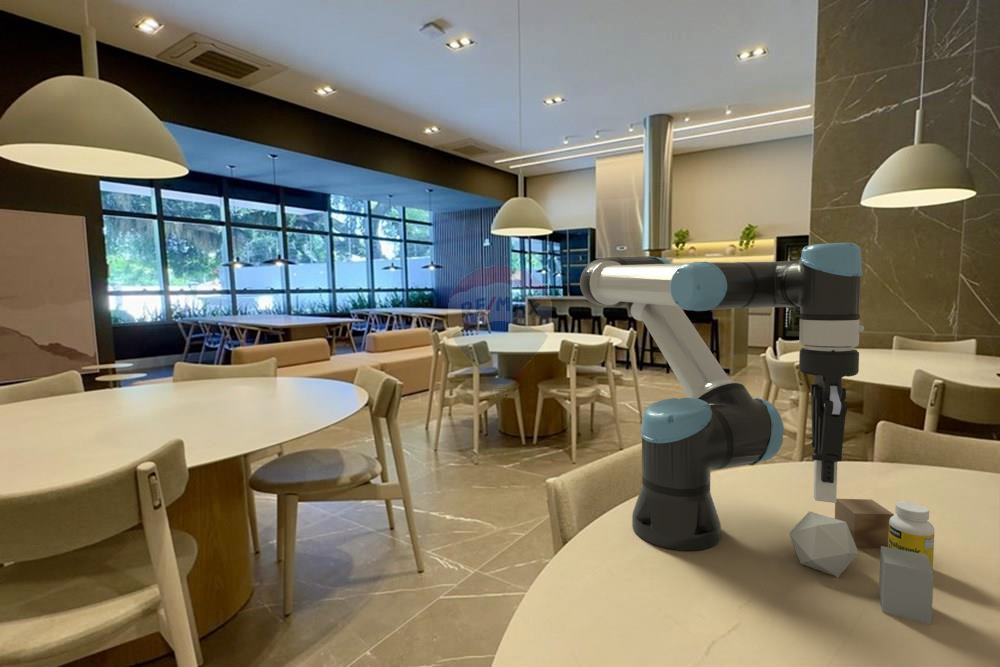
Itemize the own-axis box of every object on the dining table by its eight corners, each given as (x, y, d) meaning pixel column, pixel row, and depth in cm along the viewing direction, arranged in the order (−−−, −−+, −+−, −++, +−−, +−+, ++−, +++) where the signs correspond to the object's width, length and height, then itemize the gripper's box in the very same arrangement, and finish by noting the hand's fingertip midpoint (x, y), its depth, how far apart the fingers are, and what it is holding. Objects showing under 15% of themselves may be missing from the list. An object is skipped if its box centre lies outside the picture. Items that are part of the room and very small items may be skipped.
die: (866, 573, 78) (836, 509, 83) (871, 570, 71) (838, 501, 76) (808, 582, 81) (783, 520, 86) (808, 581, 74) (780, 513, 79)
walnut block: (853, 548, 84) (854, 513, 84) (834, 531, 90) (835, 498, 89) (892, 549, 83) (894, 514, 83) (870, 532, 89) (872, 499, 89)
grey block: (882, 612, 67) (884, 562, 67) (879, 593, 72) (880, 545, 71) (931, 625, 65) (933, 572, 64) (924, 604, 69) (926, 555, 68)
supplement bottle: (879, 563, 79) (881, 502, 78) (900, 555, 81) (902, 496, 80) (919, 581, 74) (922, 516, 73) (940, 572, 76) (943, 509, 75)
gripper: (871, 353, 68) (866, 521, 70) (847, 343, 80) (843, 487, 82) (807, 352, 71) (803, 514, 73) (793, 342, 83) (790, 482, 85)
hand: (824, 499), depth 78 cm, fingers closed
